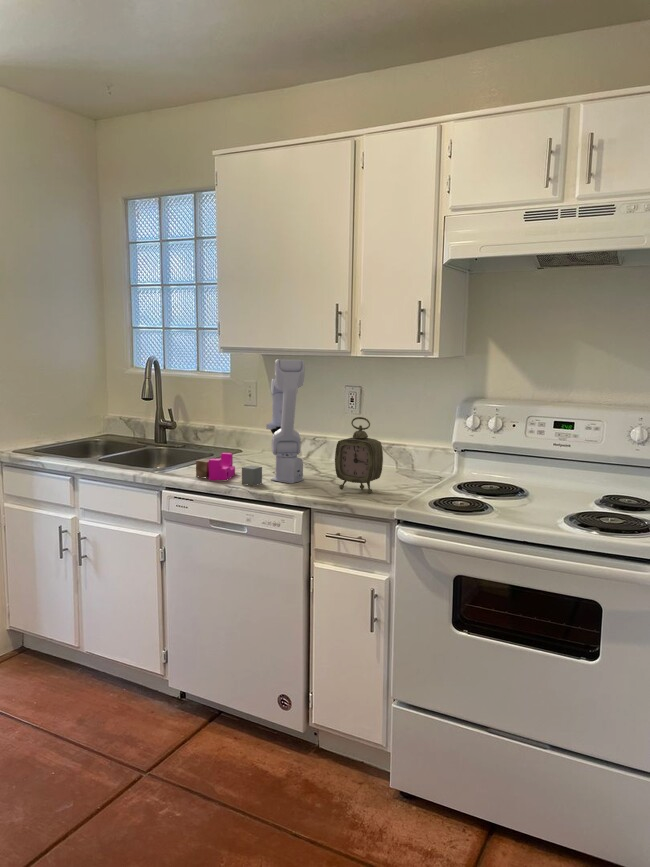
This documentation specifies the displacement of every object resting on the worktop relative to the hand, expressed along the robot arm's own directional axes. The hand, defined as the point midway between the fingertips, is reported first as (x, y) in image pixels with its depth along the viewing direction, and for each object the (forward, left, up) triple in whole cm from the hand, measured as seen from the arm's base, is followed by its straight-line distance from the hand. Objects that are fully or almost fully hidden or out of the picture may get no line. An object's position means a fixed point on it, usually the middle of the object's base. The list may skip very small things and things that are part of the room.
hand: (279, 446), depth 255 cm
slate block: (-6, +25, -10) cm, 27 cm away
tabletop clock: (-41, +11, -10) cm, 44 cm away
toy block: (+10, +21, -10) cm, 25 cm away
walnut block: (+15, +25, -10) cm, 31 cm away
